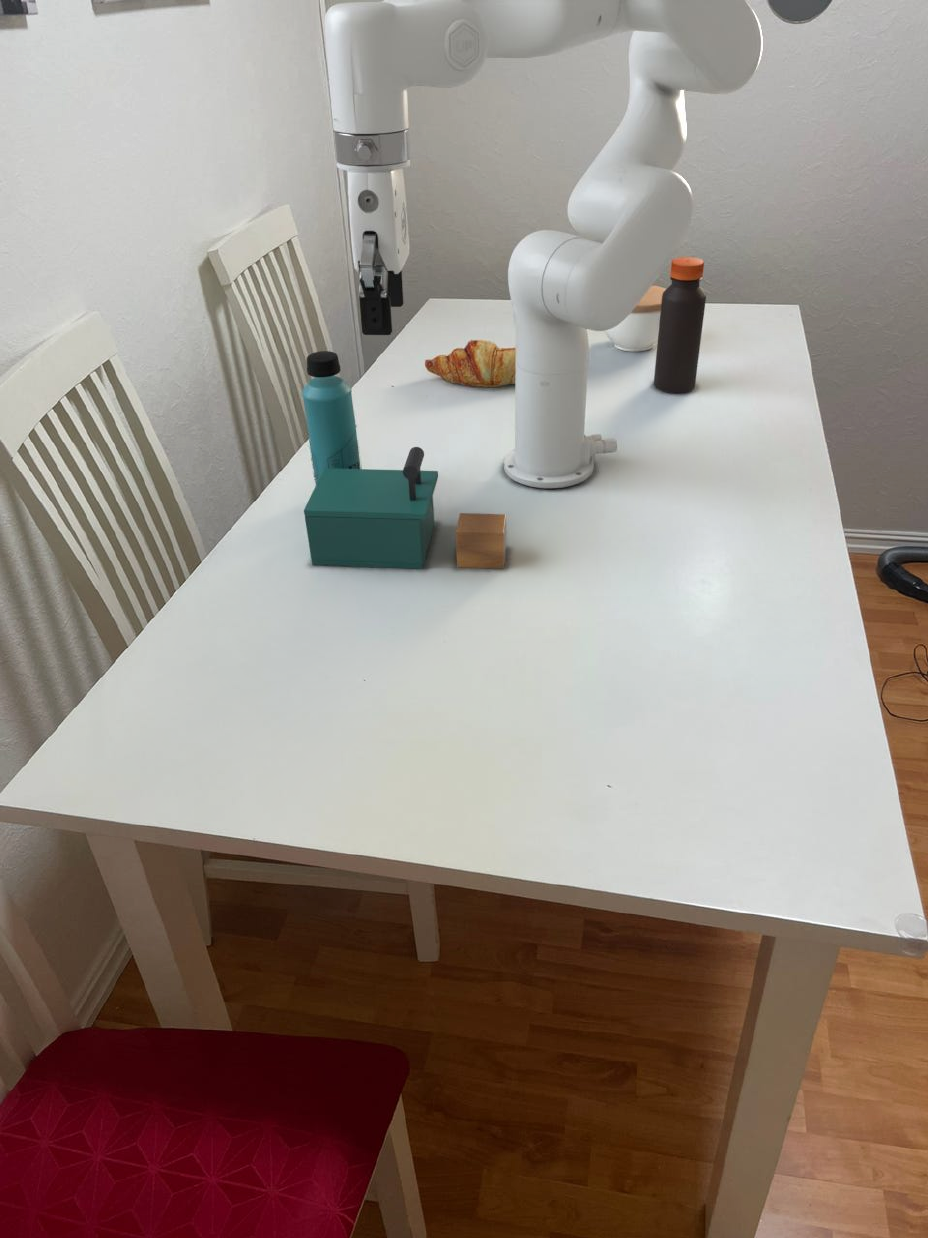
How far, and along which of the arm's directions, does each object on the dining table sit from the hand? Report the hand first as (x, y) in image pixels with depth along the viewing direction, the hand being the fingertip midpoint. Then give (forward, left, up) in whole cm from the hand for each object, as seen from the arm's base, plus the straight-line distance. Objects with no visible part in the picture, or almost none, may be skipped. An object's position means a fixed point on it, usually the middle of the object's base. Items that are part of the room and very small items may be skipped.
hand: (383, 319), depth 102 cm
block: (-8, +11, -27) cm, 30 cm away
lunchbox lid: (+4, +4, -20) cm, 20 cm away
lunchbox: (+4, +4, -27) cm, 27 cm away
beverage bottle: (+7, -9, -27) cm, 29 cm away
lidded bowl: (-53, -51, -27) cm, 79 cm away
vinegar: (-52, -31, -27) cm, 66 cm away
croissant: (-23, -43, -27) cm, 56 cm away
